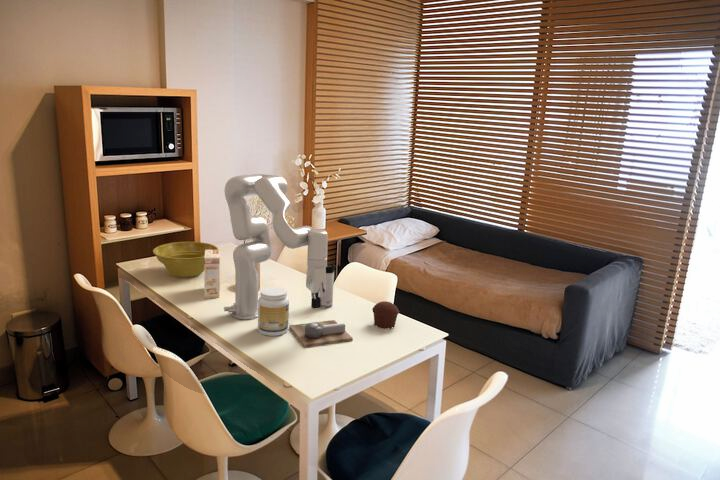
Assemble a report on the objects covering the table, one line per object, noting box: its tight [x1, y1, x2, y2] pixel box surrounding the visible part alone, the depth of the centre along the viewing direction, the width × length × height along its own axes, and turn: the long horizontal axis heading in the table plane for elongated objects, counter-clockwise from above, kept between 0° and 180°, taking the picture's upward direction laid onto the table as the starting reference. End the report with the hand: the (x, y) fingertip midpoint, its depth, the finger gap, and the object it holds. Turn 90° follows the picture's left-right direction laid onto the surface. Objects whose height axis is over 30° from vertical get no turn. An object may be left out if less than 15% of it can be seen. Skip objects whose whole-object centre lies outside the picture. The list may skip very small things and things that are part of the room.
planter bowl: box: [152, 241, 219, 278], centre depth 274 cm, size 32×32×13 cm
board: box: [288, 319, 353, 348], centre depth 212 cm, size 20×19×1 cm
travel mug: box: [320, 263, 336, 309], centre depth 241 cm, size 6×7×20 cm
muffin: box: [372, 300, 400, 330], centre depth 225 cm, size 12×11×10 cm
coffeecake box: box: [203, 249, 221, 299], centre depth 249 cm, size 15×7×20 cm, turn 14°
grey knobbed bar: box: [305, 322, 346, 339], centre depth 209 cm, size 16×7×4 cm, turn 115°
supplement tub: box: [257, 286, 290, 337], centre depth 211 cm, size 12×12×17 cm
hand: (315, 307), depth 205 cm, fingers closed
